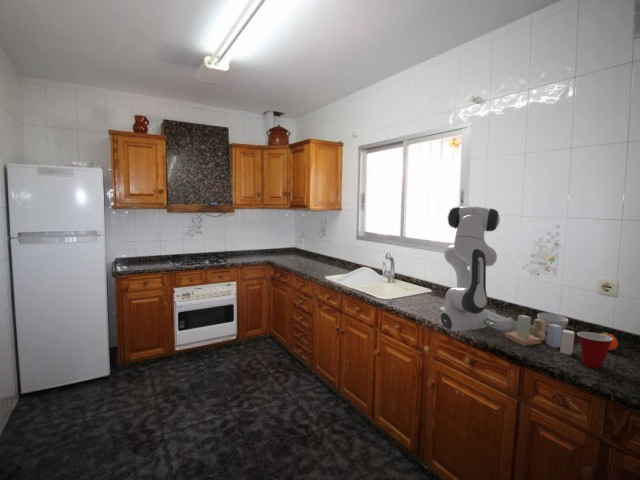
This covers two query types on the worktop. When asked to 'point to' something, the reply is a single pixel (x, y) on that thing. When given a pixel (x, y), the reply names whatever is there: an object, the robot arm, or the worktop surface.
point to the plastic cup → (594, 348)
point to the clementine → (614, 341)
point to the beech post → (539, 328)
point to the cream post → (567, 342)
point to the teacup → (553, 320)
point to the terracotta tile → (523, 339)
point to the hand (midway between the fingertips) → (502, 315)
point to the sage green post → (523, 326)
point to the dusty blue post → (554, 335)
